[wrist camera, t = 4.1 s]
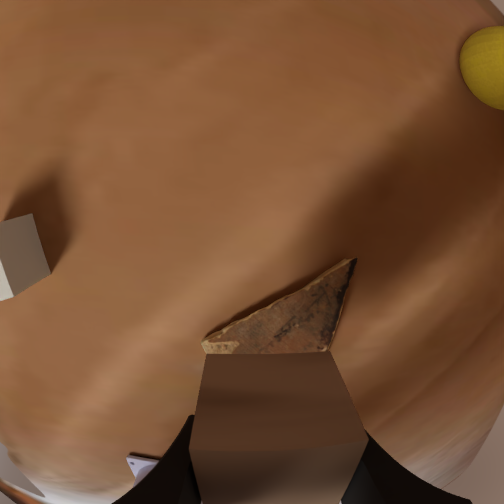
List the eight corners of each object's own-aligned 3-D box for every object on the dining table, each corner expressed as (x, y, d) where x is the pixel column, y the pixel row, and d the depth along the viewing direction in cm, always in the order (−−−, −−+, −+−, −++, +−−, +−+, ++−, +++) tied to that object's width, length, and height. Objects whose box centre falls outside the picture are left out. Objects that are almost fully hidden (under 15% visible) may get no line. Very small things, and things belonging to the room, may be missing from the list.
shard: (349, 250, 18) (359, 258, 16) (386, 339, 20) (396, 351, 18) (198, 330, 19) (194, 345, 17) (256, 404, 21) (257, 420, 19)
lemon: (449, 113, 15) (534, 97, 7) (430, 39, 14) (500, -2, 6) (498, 118, 15) (575, 112, 7) (481, 52, 13) (549, 28, 6)
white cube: (51, 273, 18) (13, 296, 13) (16, 285, 18) (-20, 306, 14) (32, 213, 17) (-10, 224, 12) (-1, 230, 17) (-40, 244, 13)
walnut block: (315, 430, 13) (335, 510, 8) (214, 433, 13) (206, 516, 8) (329, 350, 12) (368, 439, 7) (206, 353, 12) (189, 449, 7)
